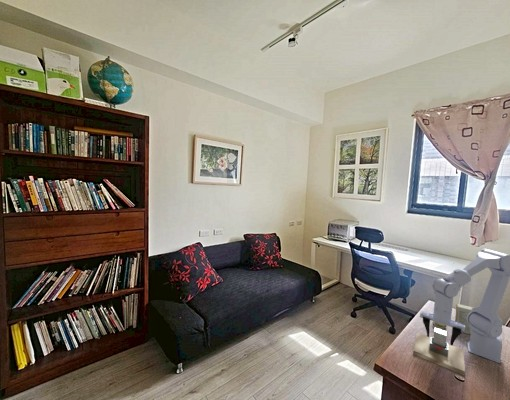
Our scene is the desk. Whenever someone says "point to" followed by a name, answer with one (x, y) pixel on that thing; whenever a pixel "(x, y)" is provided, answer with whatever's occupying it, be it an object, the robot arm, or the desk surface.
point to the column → (439, 337)
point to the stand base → (451, 362)
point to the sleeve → (438, 348)
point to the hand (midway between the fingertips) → (439, 339)
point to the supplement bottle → (439, 325)
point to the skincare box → (463, 316)
